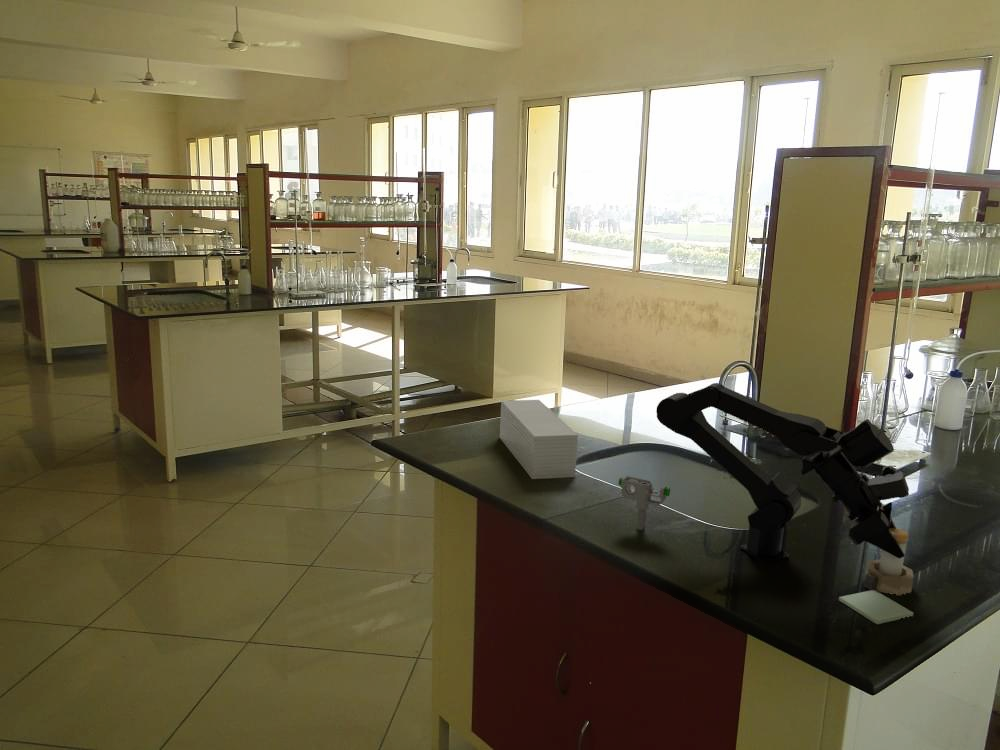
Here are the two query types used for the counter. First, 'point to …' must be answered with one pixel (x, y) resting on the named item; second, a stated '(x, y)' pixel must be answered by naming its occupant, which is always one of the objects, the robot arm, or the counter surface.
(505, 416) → the stack of papers
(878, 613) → the mat
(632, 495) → the mechanical component
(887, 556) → the bottle with orange cap
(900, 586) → the beige hollow ring
